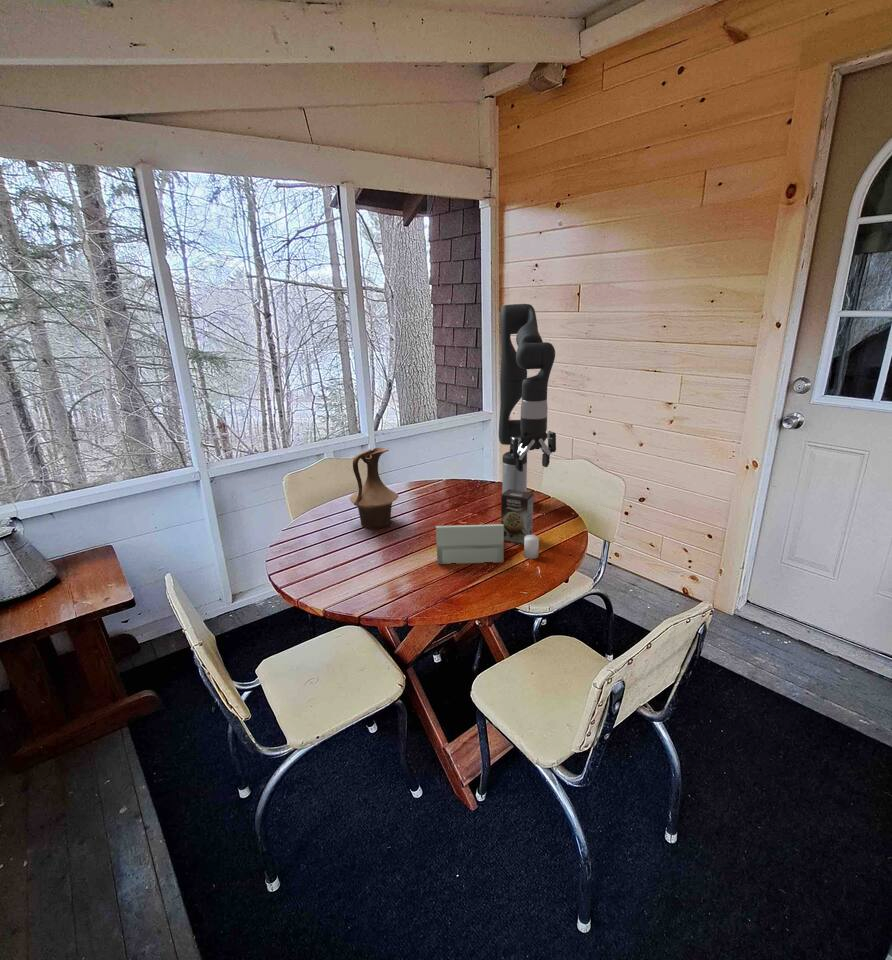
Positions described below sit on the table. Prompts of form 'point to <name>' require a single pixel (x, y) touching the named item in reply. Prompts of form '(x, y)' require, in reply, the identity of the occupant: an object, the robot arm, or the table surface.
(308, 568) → the table surface
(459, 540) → the mint green corner panel
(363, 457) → the pitcher
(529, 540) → the white rounded capsule
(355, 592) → the table surface
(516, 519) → the coffee box
